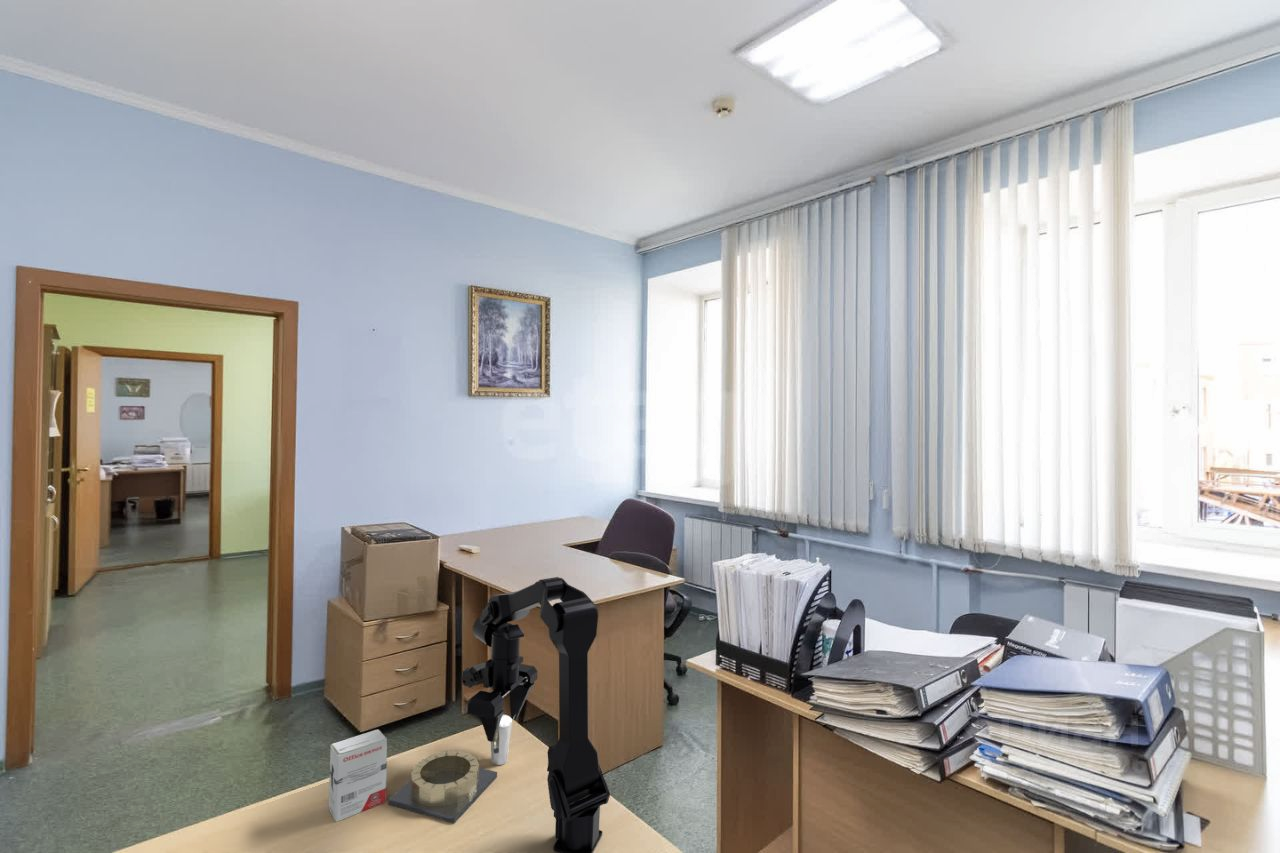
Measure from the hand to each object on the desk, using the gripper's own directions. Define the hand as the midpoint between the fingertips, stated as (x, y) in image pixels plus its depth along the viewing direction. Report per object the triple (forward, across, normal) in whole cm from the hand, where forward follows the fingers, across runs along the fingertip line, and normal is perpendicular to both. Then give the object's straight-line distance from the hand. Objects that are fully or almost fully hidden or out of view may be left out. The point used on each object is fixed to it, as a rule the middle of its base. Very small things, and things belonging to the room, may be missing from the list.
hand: (502, 729), depth 120 cm
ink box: (+7, +21, -17) cm, 28 cm away
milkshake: (+7, 0, 0) cm, 7 cm away
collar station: (+7, +12, -5) cm, 15 cm away
